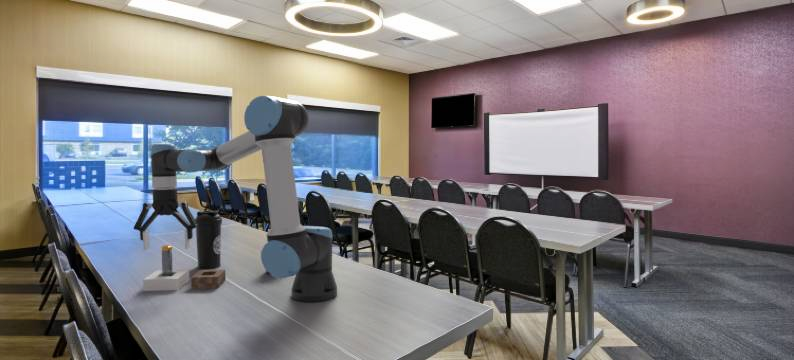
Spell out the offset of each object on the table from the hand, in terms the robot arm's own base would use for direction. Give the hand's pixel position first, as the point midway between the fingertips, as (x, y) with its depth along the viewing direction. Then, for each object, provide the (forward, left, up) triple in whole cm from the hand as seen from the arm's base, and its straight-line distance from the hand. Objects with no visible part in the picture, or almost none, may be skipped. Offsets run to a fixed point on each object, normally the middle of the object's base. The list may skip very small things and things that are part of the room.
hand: (167, 248), depth 147 cm
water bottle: (-7, -24, -13) cm, 28 cm away
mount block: (-14, 0, -13) cm, 19 cm away
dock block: (0, 0, -13) cm, 13 cm away
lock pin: (0, 0, -13) cm, 13 cm away
